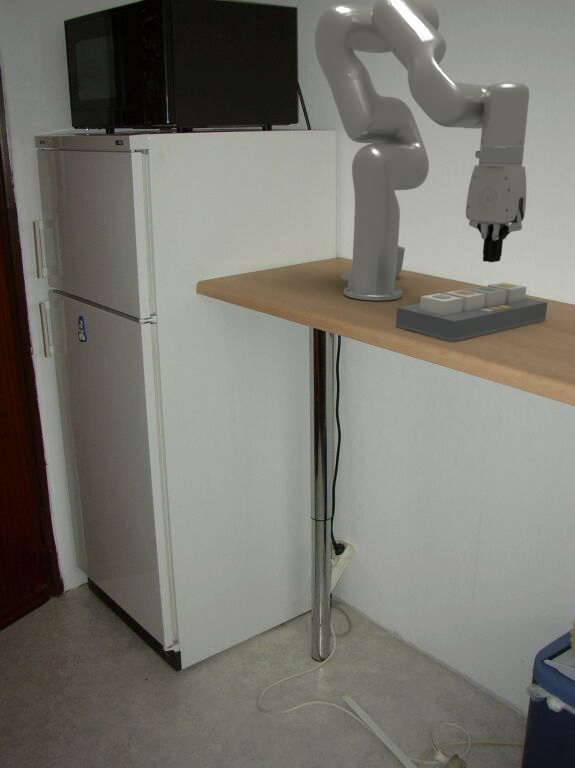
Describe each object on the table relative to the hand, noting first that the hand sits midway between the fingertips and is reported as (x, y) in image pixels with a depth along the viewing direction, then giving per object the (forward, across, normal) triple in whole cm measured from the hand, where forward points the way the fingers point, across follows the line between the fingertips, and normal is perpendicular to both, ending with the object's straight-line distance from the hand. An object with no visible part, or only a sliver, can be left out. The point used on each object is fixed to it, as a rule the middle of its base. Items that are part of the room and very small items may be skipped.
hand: (491, 261), depth 141 cm
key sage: (+8, -1, 0) cm, 8 cm away
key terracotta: (+8, -1, -6) cm, 11 cm away
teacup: (+11, -44, +16) cm, 48 cm away
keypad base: (+12, -1, -3) cm, 12 cm away
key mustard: (+8, -1, +7) cm, 11 cm away
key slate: (+8, -1, -13) cm, 15 cm away
